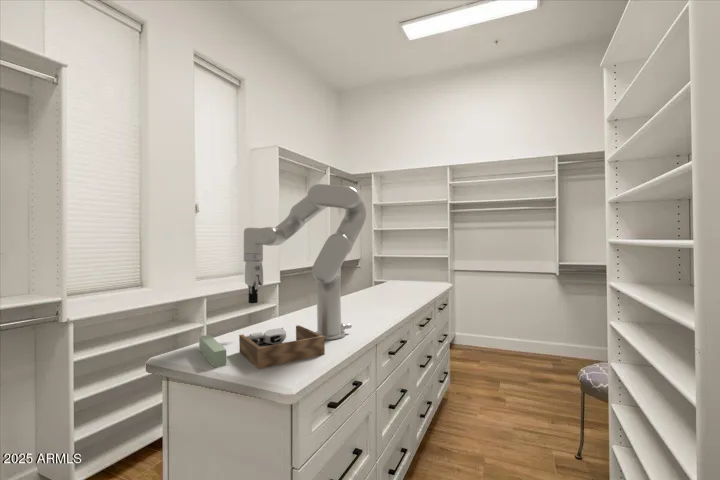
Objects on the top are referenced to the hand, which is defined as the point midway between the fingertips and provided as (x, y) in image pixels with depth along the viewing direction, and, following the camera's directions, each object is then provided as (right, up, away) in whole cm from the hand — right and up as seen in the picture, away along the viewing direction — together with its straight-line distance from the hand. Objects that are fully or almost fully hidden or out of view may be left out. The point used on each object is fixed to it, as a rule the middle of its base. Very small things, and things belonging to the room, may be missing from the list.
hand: (253, 302), depth 143 cm
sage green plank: (-6, -14, -25) cm, 30 cm away
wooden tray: (+17, -13, -23) cm, 31 cm away
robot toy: (+8, -14, -11) cm, 19 cm away
